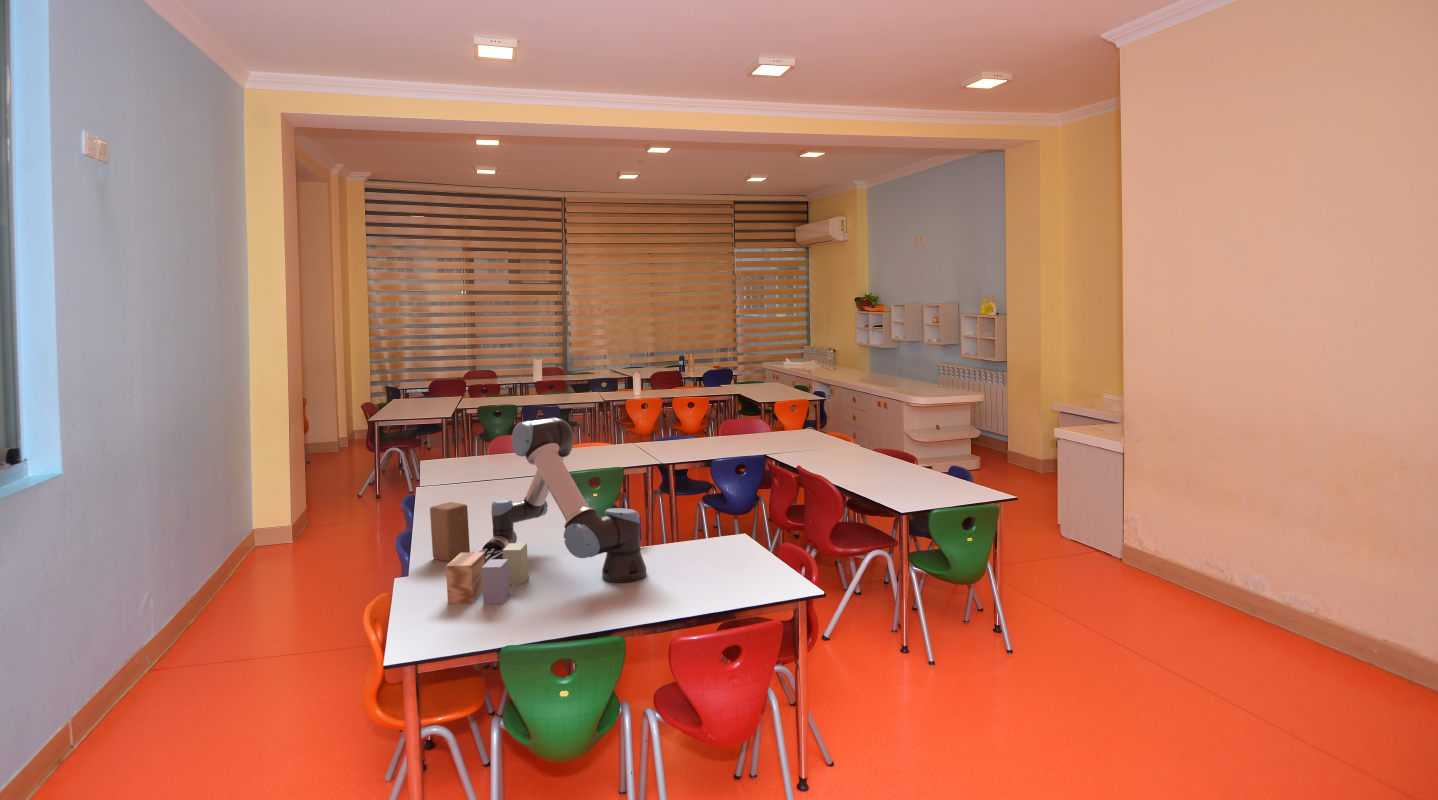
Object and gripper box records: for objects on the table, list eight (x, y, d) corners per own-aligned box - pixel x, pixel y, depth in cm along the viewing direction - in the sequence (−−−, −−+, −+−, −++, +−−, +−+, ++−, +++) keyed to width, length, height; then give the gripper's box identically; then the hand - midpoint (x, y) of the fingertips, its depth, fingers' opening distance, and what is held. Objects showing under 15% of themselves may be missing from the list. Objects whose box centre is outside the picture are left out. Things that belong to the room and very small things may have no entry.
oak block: (486, 587, 260) (484, 552, 259) (473, 602, 246) (471, 565, 245) (462, 587, 260) (460, 552, 259) (447, 603, 246) (445, 566, 245)
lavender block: (510, 595, 252) (508, 559, 251) (502, 604, 244) (500, 567, 243) (491, 595, 252) (489, 559, 251) (483, 604, 244) (481, 567, 243)
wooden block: (471, 555, 296) (468, 503, 294) (449, 563, 288) (446, 509, 286) (453, 552, 301) (450, 501, 299) (431, 559, 293) (428, 506, 291)
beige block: (528, 577, 270) (526, 543, 268) (522, 584, 262) (520, 549, 261) (511, 577, 270) (509, 543, 269) (504, 585, 262) (502, 550, 261)
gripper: (513, 559, 283) (493, 580, 260) (478, 559, 284) (454, 581, 260) (512, 538, 283) (492, 558, 259) (477, 539, 283) (453, 559, 259)
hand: (473, 569), depth 260 cm, fingers closed
